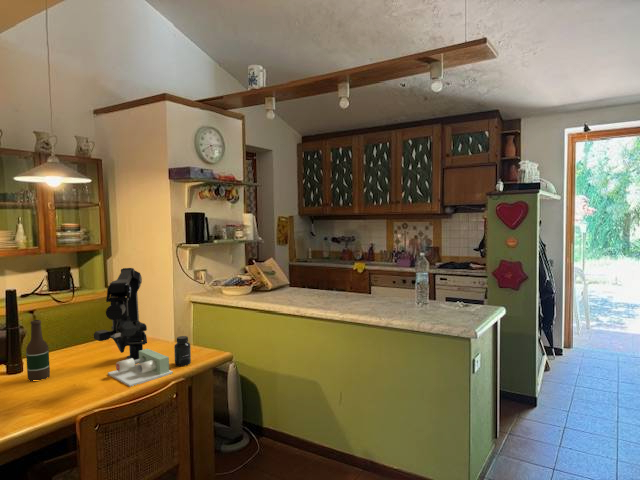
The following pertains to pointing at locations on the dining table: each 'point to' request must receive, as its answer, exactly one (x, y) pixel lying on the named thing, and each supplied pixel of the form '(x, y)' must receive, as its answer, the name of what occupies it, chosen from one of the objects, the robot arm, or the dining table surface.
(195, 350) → the dining table surface
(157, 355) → the mount
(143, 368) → the knob
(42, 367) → the beer bottle
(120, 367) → the knob
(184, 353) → the supplement bottle
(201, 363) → the dining table surface
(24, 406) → the dining table surface
